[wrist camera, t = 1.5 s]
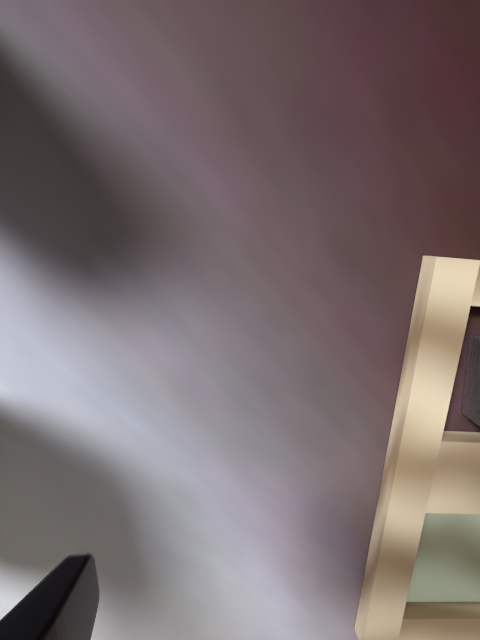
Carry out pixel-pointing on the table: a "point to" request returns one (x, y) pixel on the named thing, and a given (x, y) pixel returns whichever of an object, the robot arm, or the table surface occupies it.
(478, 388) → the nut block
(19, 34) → the table surface
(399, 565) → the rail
